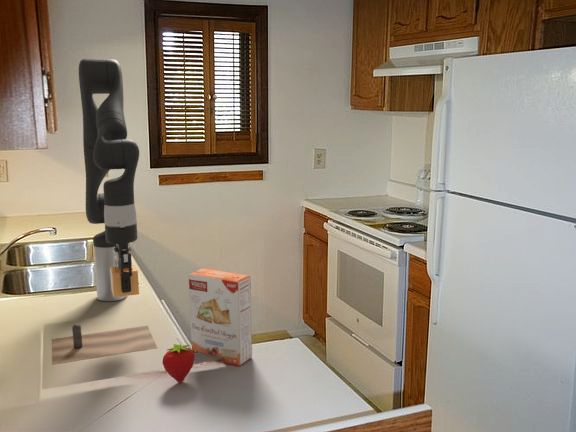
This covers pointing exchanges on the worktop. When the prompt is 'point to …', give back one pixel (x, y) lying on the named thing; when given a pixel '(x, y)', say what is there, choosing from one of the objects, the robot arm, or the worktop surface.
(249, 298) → the cracker box
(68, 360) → the board
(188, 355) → the strawberry
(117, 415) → the worktop surface
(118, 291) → the collar
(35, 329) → the worktop surface
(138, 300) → the worktop surface
